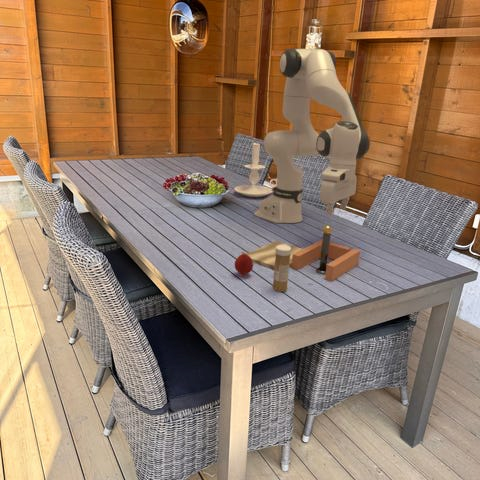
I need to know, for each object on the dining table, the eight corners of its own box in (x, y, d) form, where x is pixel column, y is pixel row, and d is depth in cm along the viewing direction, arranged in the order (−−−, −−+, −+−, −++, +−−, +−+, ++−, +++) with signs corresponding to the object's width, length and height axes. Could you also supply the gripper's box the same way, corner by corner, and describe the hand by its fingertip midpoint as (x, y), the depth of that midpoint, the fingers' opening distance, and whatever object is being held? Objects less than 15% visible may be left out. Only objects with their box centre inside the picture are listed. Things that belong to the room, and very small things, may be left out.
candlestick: (286, 198, 241) (290, 145, 231) (243, 201, 231) (246, 145, 222) (268, 189, 258) (272, 139, 249) (228, 191, 249) (230, 139, 239)
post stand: (313, 271, 151) (318, 225, 145) (319, 267, 154) (325, 222, 149) (325, 275, 148) (330, 228, 143) (331, 271, 152) (337, 225, 146)
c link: (320, 252, 168) (321, 239, 166) (358, 263, 159) (360, 250, 157) (291, 268, 153) (292, 254, 151) (331, 281, 144) (333, 266, 142)
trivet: (242, 258, 159) (242, 255, 158) (275, 243, 174) (276, 240, 174) (280, 271, 149) (280, 268, 149) (312, 254, 165) (312, 251, 165)
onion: (251, 272, 148) (253, 249, 145) (252, 279, 143) (254, 255, 140) (233, 271, 148) (234, 248, 145) (234, 279, 142) (235, 255, 140)
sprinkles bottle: (271, 285, 139) (274, 244, 135) (286, 285, 140) (289, 244, 135) (273, 292, 135) (277, 249, 130) (288, 292, 135) (292, 250, 131)
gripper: (346, 166, 163) (341, 204, 168) (318, 174, 148) (314, 215, 152) (363, 169, 159) (357, 207, 164) (336, 177, 144) (331, 219, 149)
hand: (336, 211), depth 158 cm, fingers open, 8 cm apart
